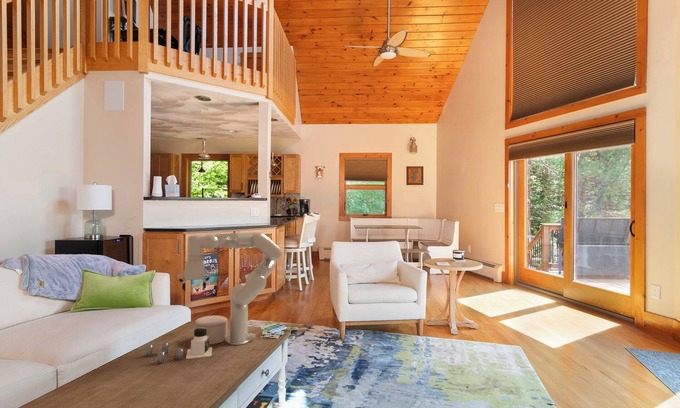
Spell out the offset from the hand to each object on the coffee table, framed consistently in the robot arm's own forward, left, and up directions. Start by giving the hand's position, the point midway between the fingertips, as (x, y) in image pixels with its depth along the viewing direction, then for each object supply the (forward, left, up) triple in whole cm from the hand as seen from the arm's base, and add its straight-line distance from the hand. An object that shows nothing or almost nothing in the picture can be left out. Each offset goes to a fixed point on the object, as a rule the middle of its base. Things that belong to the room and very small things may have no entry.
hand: (194, 290), depth 195 cm
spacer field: (+13, +10, -31) cm, 35 cm away
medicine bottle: (-4, +9, -30) cm, 32 cm away
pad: (-4, +9, -31) cm, 32 cm away
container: (-9, -11, -31) cm, 34 cm away
